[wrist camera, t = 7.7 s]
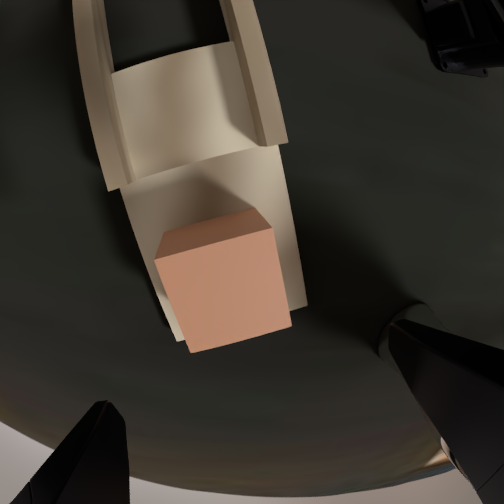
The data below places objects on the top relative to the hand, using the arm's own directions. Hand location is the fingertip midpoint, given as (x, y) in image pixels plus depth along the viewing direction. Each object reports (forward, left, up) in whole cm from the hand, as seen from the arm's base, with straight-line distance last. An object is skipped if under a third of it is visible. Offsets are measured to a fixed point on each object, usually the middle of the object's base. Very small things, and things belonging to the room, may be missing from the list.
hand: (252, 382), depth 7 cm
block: (0, +1, -10) cm, 10 cm away
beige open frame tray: (0, -9, -11) cm, 14 cm away
